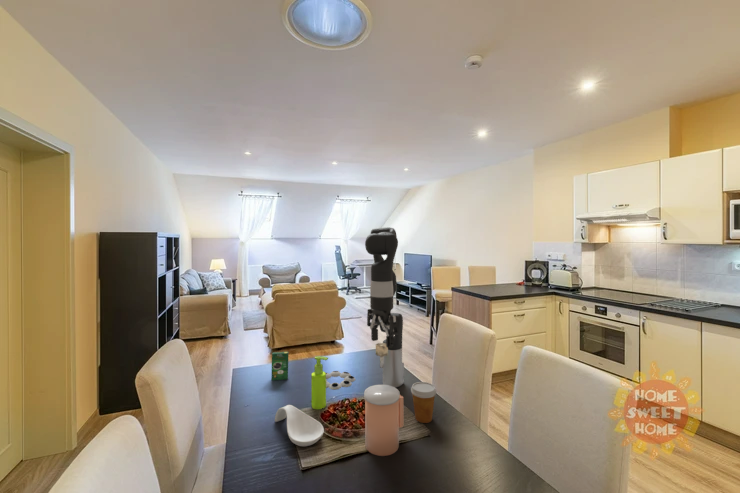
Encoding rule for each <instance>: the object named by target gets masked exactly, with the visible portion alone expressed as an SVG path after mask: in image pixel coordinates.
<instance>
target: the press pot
mask: <svg viewBox="0 0 740 493" xmlns="http://www.w3.org/2000/svg"><path fill="white" fill-rule="evenodd" d="M363 396H364V397H363V398H364V403H365V404H364V411H365V412H364V413H365V414H364V415H365V417H364V418H365V419H364V421H365V422H364V425H365V426H364V427H365V428H364V429H365V430H364V431H365V433H364V437H365V438H364V440H365V449H366V450H367V451H368V453H370V454H372V455H375V456H379V457H385V456H386V457H387V456H391V455H393V454H395V453H396V452H397V451H398V449H399V447H400V440H399V439H400V436H399V435H400V434H399V433H400V431H399V430H400V429H401V428H403V427H404V425H405V424H404V422H405V421H404V396H403V395H401V394H400V391H399V389H398V388H397V387H393V386H389V385H383V384H374V385H370V386H369V387H367V388H365V390H364V393H363Z"/></svg>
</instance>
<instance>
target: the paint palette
mask: <svg viewBox="0 0 740 493" xmlns="http://www.w3.org/2000/svg"><path fill="white" fill-rule="evenodd" d="M325 373H326V389H327V388H328V389H329V390H340V389H342V388H348V387H351V386H352V385H353V384H352V383H353V382H355V381H356V378H355V377H354V376H352V374H351V373H350V372H348V371H343V372H340V371H339V370H333V371H331V372H325ZM333 377H334V378H337V377H338V378H339V377H340V378H342V379H343V380H342V381H341V382H340V383H338V382H332V383H330V382H329V381H328V379H331V378H333ZM347 382H348V383H347ZM334 385H337V386H334Z"/></svg>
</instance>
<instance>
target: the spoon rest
mask: <svg viewBox="0 0 740 493" xmlns="http://www.w3.org/2000/svg"><path fill="white" fill-rule="evenodd" d="M284 419H286V431H287V435H288V438H289V439H290V440H289V441H291V443H293V444H295V445H297V446H299V447H308V446H312V445H314V444H315V443H317V442H318V441H319V440H321V438H322V437H323V435H324V432H325V429H324V426H323V424H322V423H321V422H320V421H318V420H317V419H315V418H314V417H312V416H311V415H309V414H307V413H305V412H303V411H302V410H300V409H299V408H297V407H296V406H294V405H292V404H287V405H285V406H283V407H279V408H278V409H277V411H276V413H275V415H274V422H275V423H277V422H280V421H283V420H284Z"/></svg>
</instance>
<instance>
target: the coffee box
mask: <svg viewBox="0 0 740 493" xmlns="http://www.w3.org/2000/svg"><path fill="white" fill-rule="evenodd" d="M281 380H283V381H284V380H289V351H273V352H272V353H271V381H272V382H273V381H281Z"/></svg>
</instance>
